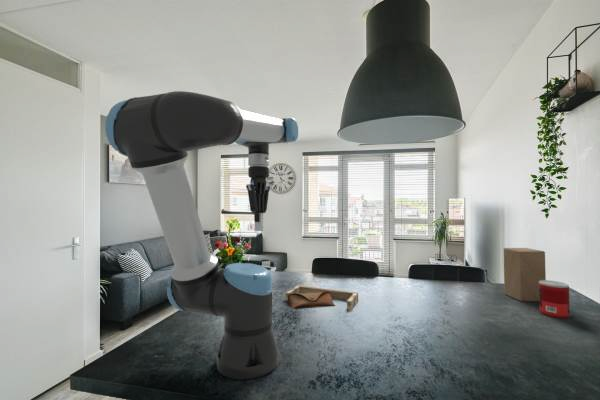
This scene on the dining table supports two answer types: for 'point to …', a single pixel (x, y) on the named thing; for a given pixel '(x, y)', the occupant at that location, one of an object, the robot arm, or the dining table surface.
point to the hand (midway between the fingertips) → (258, 230)
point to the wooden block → (523, 273)
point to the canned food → (554, 298)
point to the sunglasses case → (310, 300)
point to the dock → (349, 296)
